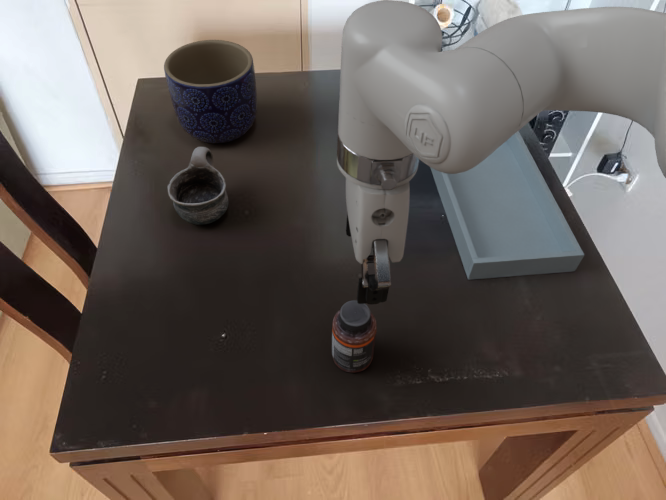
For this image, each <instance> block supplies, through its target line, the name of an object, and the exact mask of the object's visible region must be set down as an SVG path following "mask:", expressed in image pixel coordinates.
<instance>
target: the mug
mask: <svg viewBox="0 0 666 500" xmlns="http://www.w3.org/2000/svg"><path fill="white" fill-rule="evenodd" d="M226 188H227V183H226V180H225V178H224V176H223V175H222V173H221V172H220V171H219V170H218V169H217V168H215V167H214V155H213V153H212V151H211V149H209V148H208V147H206V146H197V147H195V148H194V149H193V151H192V153H191V158H190V161H189V163H188V166H187V167H186V168H185V169H182V170H180V171H179V172H177V173H176V174H174V176H173V177H172V178H171V179H170V180H169V183H168V184H167V195H168V197H169V199H170V200H171V201H172V204H173V208H174V210H175V212H176V213H177V215H178V216H179V217H180V218H181V219H182V220H184V221H185V222H187V223H189V224H193V225H197V226H202V225H209V224H211V223H214V222H216V221H218V220H220V218H222V216H223V215H225V214H226V212H227V210H228V207H229V197H228V193H227V190H226Z"/></svg>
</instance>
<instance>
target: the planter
mask: <svg viewBox="0 0 666 500" xmlns="http://www.w3.org/2000/svg"><path fill="white" fill-rule="evenodd" d="M163 70H164V76H165V81H166V84H167V85H166V86H167V90H168V93H169V97H170V100H171V103H172V107H173V110H174V112H175V115H176V118H177V121H178V123H179V124H180V126H181V128H182V129H183V130H184V131H185V132H186V133H187V134H188V135H189V136H191V137H193V139H196V140H197V141H201V142H204V143H207V144H224V143H229V142H232V141H235V140H237V139H239V138H241V137H242V136H244V135H245V134H246V133H247V132H248V131H249V130H250V129H251V128H252V126H253V124H254V122H255V121H256V118H257V113H258V93H257V91H258V89H257V80H256V78H257V77H256V69H255V64H254V57H253V55H252V53H251V52H250V51H249V50H248V49H247V48H246V47H245V46H243V45H241V44H239V43H237V42H233V41H230V40H223V39H204V40H198V41H197V40H196V41H193V42H190V43H187V44H184V45H182V46H180V47H177V48H176V49H175V50H174V51H172V52H171V53H170V54H168V56H167V57H166V59H165V60H164V64H163Z"/></svg>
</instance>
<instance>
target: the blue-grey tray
mask: <svg viewBox="0 0 666 500" xmlns="http://www.w3.org/2000/svg"><path fill="white" fill-rule="evenodd" d="M429 169H430V172H431V175H432V177H433V180H434V183H435V187H436V189H437V192H438V195H439V198H440V201H441V204H442V206H443V210H444V213H445V216H446V219H447V221H448V224H449V227H450V230H451V233H452V236H453V239H454V242H455V245H456V249H457V251H458V255H459V257H460V260H461V263H462V265H463V269H464V272H465V274H466V277H467V280H468V281H470V280H472V281H473V280H483V279H496V278H506V277H507V278H508V277H521V276H533V275H544V274H545V275H546V274H547V275H549V274H557V273H558V274H560V273H573V272H576V270H577V269H578V267H579V265H580V264H581V262H582V260H583V258H584V257H585V253H584V251H583V249H582V247H581V246H580V244H579V242H578V240H577V238H576V235H574V233H573V231H572V229H571V227H570V225H569V223H568V221H567V219H566V218H565V216H564V214H563V211H562V210H561V208H560V206H559V204H558V202H557V201H556V199H555V197H554V195H553V193H552V191H551V189H550V187H549V186H548V184H547V182H546V180H545V178H544V176H543V174H542V172H541V171H540V169H539V167H538V165H537V163H536V161H535V159H534V158H533V156H532V153H531V151H530V149H529V148H528V146H527V143H526V142H525V141H524V138H523V137H522V134H521V133H520V130H519V131H518V132H516V133H515V134H514V135H513V136H511V137H510V138H509V139H508V140H507V141H506V142H505V143H503V144H502V145H501V146H500V147H499V148H498V149H496V150H495V151H494V152H493V153H492V154H491V155H489V156H488V157H487V158H486V159H485V160H484V161H482V162H481V163H480V164H478V165H477V166H475V167H474V168H472V169H470V170H468V171H466V172H462V173H457V174H448V173H443V172H440V171H437V170H435V169H433V168H431V167H429Z"/></svg>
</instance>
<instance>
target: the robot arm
mask: <svg viewBox="0 0 666 500" xmlns="http://www.w3.org/2000/svg"><path fill="white" fill-rule="evenodd" d="M442 44H443V32H442V29H441V25H440V23H439V22H438V20H437V18H436V17H435V16H434V15H433V14H432V13H431V12H430V11H428V10H427V9H425V8H424V7H422V6H420V5H417V4H415V3H411V2H408V1H402V0H377V1H372V2H368V3H366V4H363V5H362V6H360V7H358V8H356V9H355V10H353V11H352V12H351V14H350V15H349V16H348V17H347V19H346V21H345V23H344V26H343V27H342V34H341V46H340V47H341V49H340V51H341V52H340V71H339V73H340V75H339V76H340V77H339V98H338V101H339V102H338V119H337V120H338V124H337V139H336V141H337V145H336V166H337V168H338V170H339V172H340V174H342V176H344V177H345V202H346V203H345V204H346V222H345V223H346V226H345V228H346V229H345V234H346V236H347V237H349V238H351V243H352V247H353V248H352V249H353V252H354V253H353V254H354V257H355V260H356V261H357V263H359V265H361V277H360V278H358V283H357V294H356V300H357V303H358V304H366V305H377V304H380V303H385V302H387V300H388V295H389V290H390V288H391V286H392V282H391V281H392V278H391V263H400V262H401V261H402V259H403V258H404V254H405V248H406V241H407V233H408V224H409V214H410V199H411V198H410V196H411V194H410V193H411V192H410V191H411V190H410V188H411V187H410V181H411V180H412V179H413V178H414V177H415V176H416V174H417V172H418V169H419V163H420V161H421V163H423V164H425V165H426V166H428V167H429V168H430V167H431V168H433V169H435V170H437V171H440V172H443V173H448V174H457V173H462V172H466V171H468V170H470V169H472V168H474V167H475V166H477V165H478V164H480V163H481V162H482V161H484V160H485V159H486V158H487V157H488V156H489V155H491V154H492V153H493V152H494V151H495V150H496V149H498V148H499V147H500V146H501V145H502V144H503V143H505V142H506V141H507V140H508V139H509V138H510V137H511V136H513V135H514V134H515V133H516V132H518V131H519V132H520V130H521V129H523V128H524V127H525V126H526V125H527V124H528V123H530V122H531V121H532V120H533V119H534V118H535V117H537V116H538V115H539V114H540V113H542V112H548V111H562V112H563V111H564V112H565V111H567V112H588V113H589V112H590V113H599V114H600V113H601V114H607V115H612V116H617V117H621V118H625V119H628V120H630V121H632V122H634V123H637V124H638V125H639V126H641V127H643V128H644V129H646V130H647V132H648V133H650V134H651V136H652V138H653V139H654V149H655V155H656V161H657V164H658V167H659V169H660V172H661V173H662V175H663V177H664V178H665V179H666V12H663V11H662V12H661V11H656V10H652V9H646V8H642V7H641V8H640V7H634V6H633V7H632V6H631V7H630V6H597V7H585V8H584V7H582V8H574V9H573V8H572V9H565V10H564V9H563V10H551V11H542V12H533V13H527V14H521V15H517V16H512V17H509V18H507V19H504V20H501V21H499V22H497V23H494V24H493V25H491V26H489V27H487V28H485V29H484V30H482V31H481V32H479V33H477V34H476V35H474V36H472V37H471V38H469V39H468V40H466V41H465V42H463V43H462V44H460V45H459V46H457V47H456V48H454V49H449V50H442ZM431 168H430V169H431ZM371 253H372V254H371ZM369 264H373V265H374V273H373V274H369Z"/></svg>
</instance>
